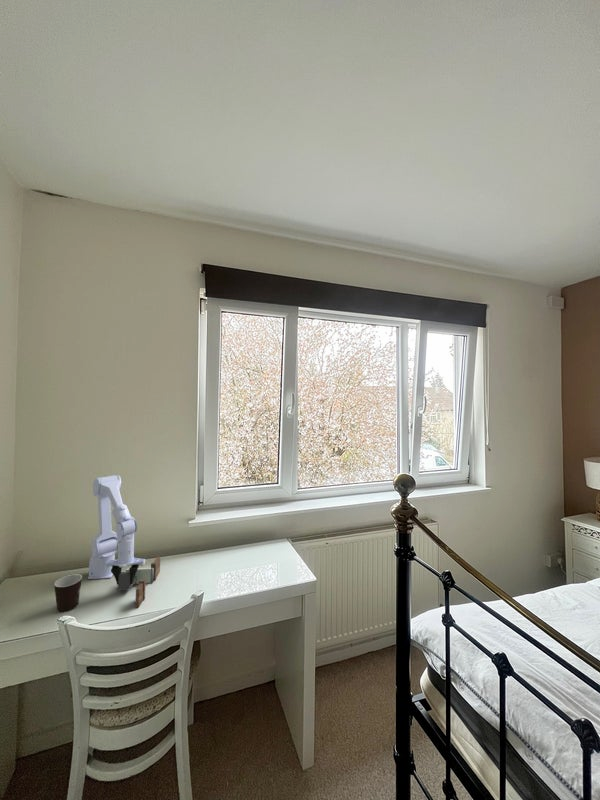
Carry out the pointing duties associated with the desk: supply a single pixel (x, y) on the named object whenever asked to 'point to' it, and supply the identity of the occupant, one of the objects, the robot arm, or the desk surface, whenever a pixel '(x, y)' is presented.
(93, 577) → the robot arm
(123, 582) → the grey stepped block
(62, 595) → the coffee mug
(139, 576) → the door
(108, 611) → the desk surface
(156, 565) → the door frame
